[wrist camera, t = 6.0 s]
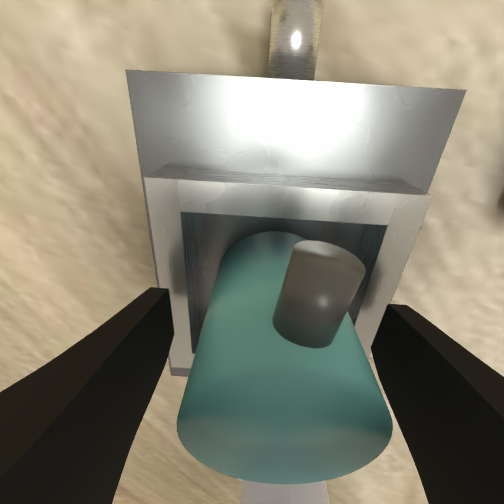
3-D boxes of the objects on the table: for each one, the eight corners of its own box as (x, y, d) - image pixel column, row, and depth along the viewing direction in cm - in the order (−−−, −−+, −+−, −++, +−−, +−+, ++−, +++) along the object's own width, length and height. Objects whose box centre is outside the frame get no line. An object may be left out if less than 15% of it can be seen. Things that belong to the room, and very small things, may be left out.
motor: (336, 339, 17) (360, 417, 13) (187, 328, 18) (161, 402, 13) (431, 17, 10) (572, -58, 5) (157, 2, 10) (69, -85, 5)
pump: (311, 331, 13) (346, 493, 7) (211, 314, 12) (172, 471, 7) (364, 201, 9) (493, 323, 4) (231, 176, 9) (188, 270, 4)
